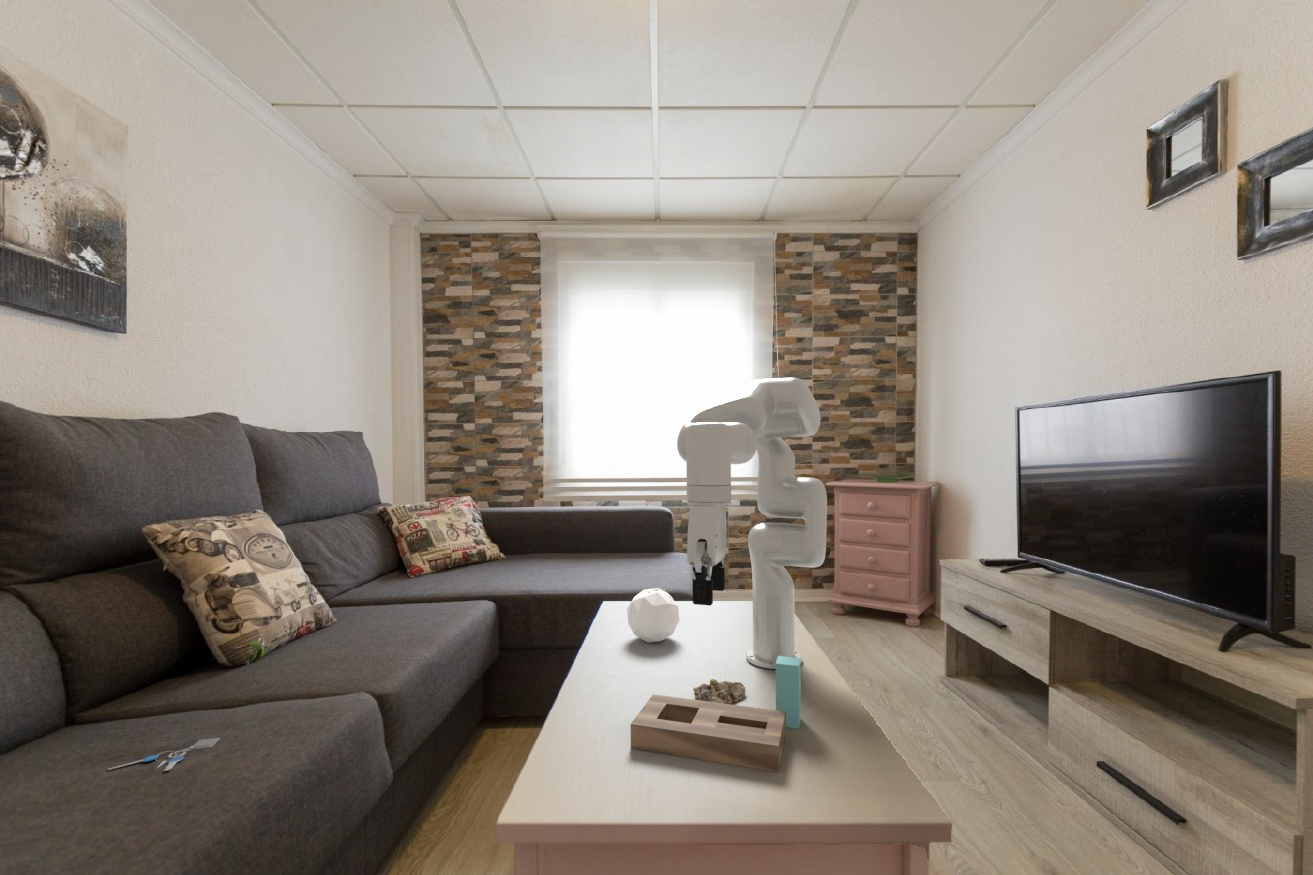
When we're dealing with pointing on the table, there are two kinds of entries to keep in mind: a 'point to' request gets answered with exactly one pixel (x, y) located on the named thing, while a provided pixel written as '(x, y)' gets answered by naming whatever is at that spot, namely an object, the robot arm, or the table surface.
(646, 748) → the bore board
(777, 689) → the square peg
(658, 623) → the geodesic sphere
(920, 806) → the table surface
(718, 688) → the mineral rock
